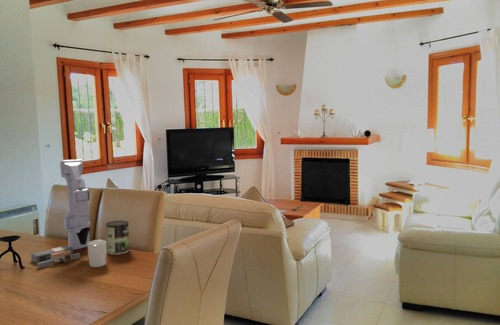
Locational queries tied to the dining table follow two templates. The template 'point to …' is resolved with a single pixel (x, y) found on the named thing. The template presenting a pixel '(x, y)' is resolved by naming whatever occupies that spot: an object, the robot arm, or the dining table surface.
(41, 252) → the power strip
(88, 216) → the robot arm
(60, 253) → the latch
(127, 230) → the coffee can
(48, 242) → the dining table surface
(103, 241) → the white cup
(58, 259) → the plug
